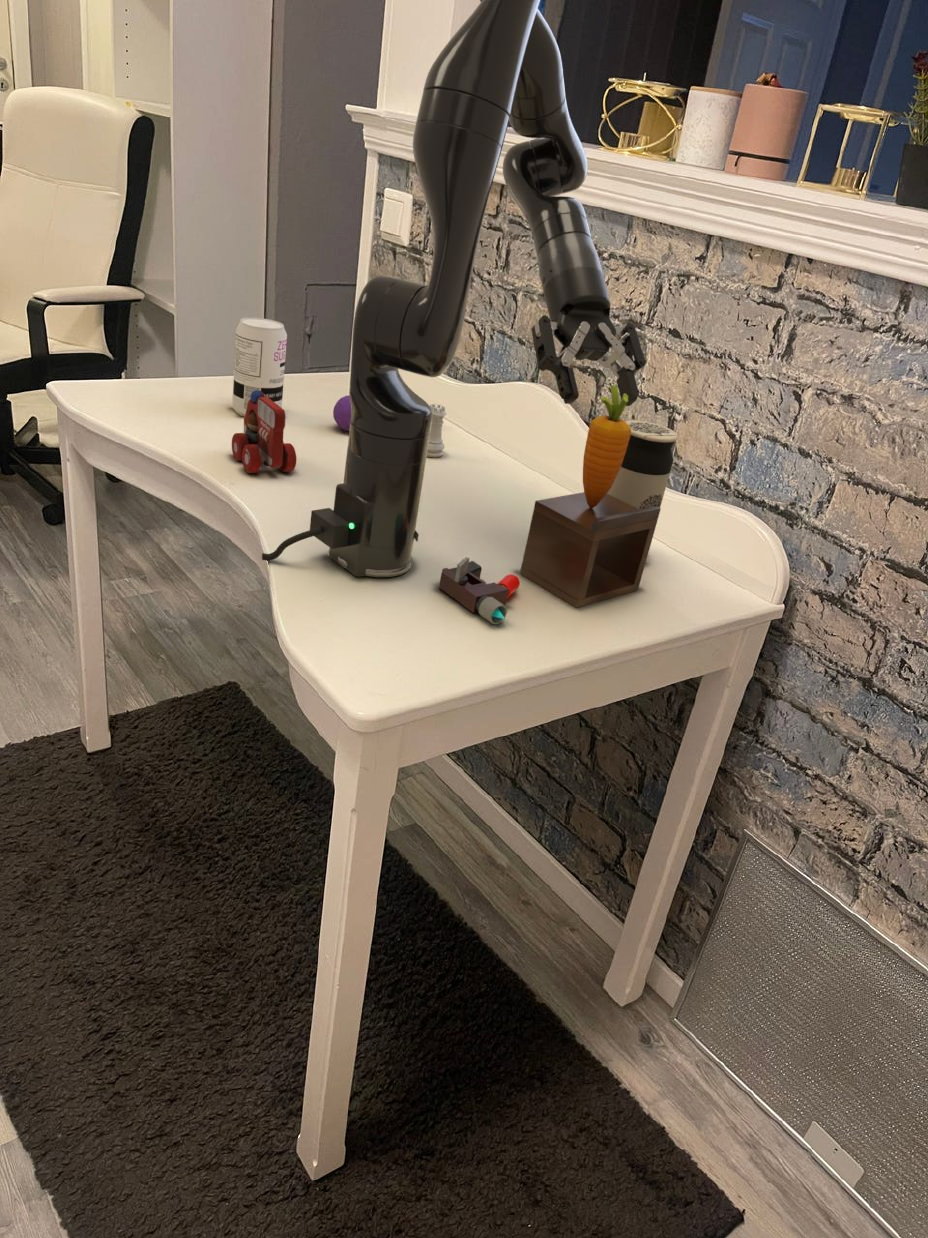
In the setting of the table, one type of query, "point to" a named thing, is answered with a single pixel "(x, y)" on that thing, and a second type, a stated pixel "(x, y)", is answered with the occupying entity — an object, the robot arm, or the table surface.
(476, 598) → the toy gun
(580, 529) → the shelf
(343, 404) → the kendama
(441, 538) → the table surface
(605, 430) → the carrot
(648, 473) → the travel mug
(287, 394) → the table surface
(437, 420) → the rook chess piece
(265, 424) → the toy fire truck
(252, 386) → the supplement can
